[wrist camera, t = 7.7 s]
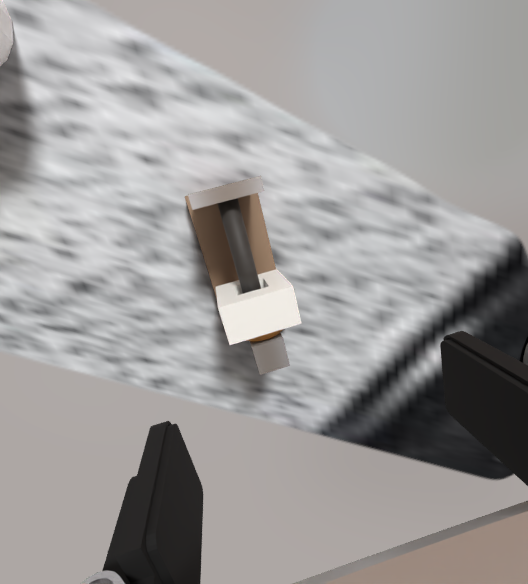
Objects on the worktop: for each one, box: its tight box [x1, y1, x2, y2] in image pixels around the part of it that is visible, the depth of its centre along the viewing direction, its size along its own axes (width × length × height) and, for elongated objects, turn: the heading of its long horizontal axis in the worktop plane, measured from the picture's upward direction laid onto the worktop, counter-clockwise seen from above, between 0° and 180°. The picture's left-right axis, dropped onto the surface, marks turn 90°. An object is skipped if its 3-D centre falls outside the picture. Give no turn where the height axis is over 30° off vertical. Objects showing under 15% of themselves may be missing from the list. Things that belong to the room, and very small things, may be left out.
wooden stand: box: [185, 176, 290, 375], centre depth 22 cm, size 5×12×8 cm, turn 14°
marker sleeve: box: [216, 269, 301, 345], centre depth 21 cm, size 4×2×4 cm, turn 104°
